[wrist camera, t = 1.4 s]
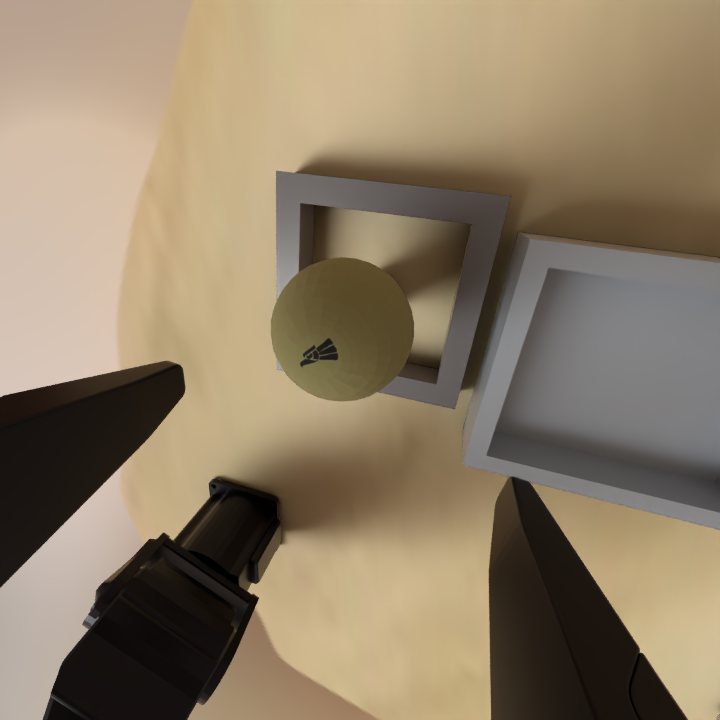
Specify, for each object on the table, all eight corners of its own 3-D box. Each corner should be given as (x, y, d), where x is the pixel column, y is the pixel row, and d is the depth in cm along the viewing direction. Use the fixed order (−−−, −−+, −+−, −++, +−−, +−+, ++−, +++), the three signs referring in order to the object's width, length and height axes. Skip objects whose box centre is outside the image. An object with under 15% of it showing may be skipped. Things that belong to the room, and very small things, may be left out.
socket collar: (290, 356, 24) (276, 369, 22) (293, 173, 19) (276, 170, 17) (455, 392, 22) (454, 409, 20) (505, 196, 17) (510, 195, 15)
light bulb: (374, 216, 19) (297, 231, 10) (450, 287, 19) (440, 361, 10) (316, 292, 21) (214, 357, 13) (384, 353, 22) (332, 457, 13)
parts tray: (462, 428, 23) (462, 465, 19) (518, 232, 17) (530, 238, 14) (713, 487, 20) (760, 540, 17) (869, 276, 15) (978, 296, 12)
